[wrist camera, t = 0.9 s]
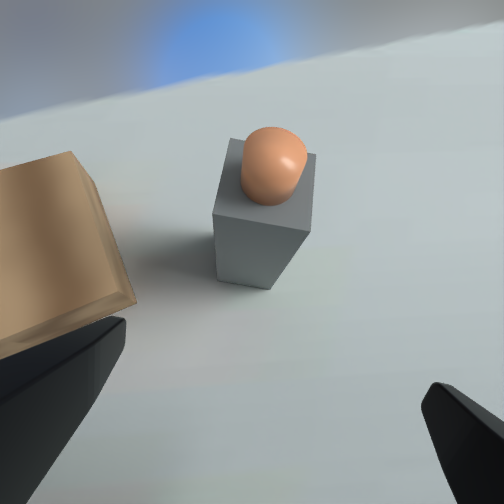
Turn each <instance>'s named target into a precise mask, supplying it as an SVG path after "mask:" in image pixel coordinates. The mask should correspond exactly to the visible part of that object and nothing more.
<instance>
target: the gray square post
mask: <svg viewBox="0 0 504 504" xmlns="http://www.w3.org/2000/svg"><path fill="white" fill-rule="evenodd" d="M315 162H316V154H311V153H307V150H306V147H305V145H304V144H303V142H302V141H301V140H300V138H299V137H297V136H296V135H295V134H293V133H292V132H290V131H288V130H285V129H282V128H277V127H266V128H261V129H258V130H256V131H254V132H253V133H251V134H250V135H249V136H248V138H247V139H246V141H243V140H238V139H233V138H230V141H229V145H228V149H227V154H226V158H225V162H224V166H223V171H222V175H221V179H220V183H219V188H218V192H217V196H216V200H215V205H214V209H213V213H212V216H213V229H214V242H215V255H216V268H217V281H223V282H229V283H235V284H241V285H247V286H252V287H258V288H264V289H271V288H272V286H273V285H274V283H275V282H276V280H277V279H278V277H279V276H280V275H281V273H282V272H283V270H284V269H285V267H286V266H287V265H288V263H289V262H290V260H291V259H292V257H293V256H294V254H295V253H296V252H297V250H298V249H299V247H300V246H301V244H302V243H303V242H304V240H305V239H306V237H307V236H308V234H309V233H310V231H311V217H312V204H313V190H314V176H315Z"/></svg>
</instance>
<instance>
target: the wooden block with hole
mask: <svg viewBox="0 0 504 504" xmlns="http://www.w3.org/2000/svg"><path fill="white" fill-rule="evenodd" d="M136 303H137V301H136V298H135V296H134V293H133V290H132V287H131V284H130V281H129V279H128V276H127V273H126V270H125V267H124V265H123V262H122V259H121V256H120V253H119V250H118V248H117V245H116V242H115V239H114V236H113V233H112V231H111V228H110V225H109V222H108V219H107V217H106V214H105V211H104V208H103V205H102V202H101V200H100V197H99V194H98V191H97V188H96V186H95V183H94V181H93V180H92V179H91V177H90V176H89V175H88V173H87V172H86V170H85V169H84V168H83V166H82V165H81V164H80V162H79V161H78V160H77V158H76V157H75V156H74V154H73V153H72V152H71V151H68V152H64V153H60V154H57V155H53V156H49V157H46V158H42V159H38V160H35V161H31V162H27V163H24V164H20V165H16V166H13V167H9V168H5V169H2V170H0V359H2V358H5V357H8V356H10V355H13V354H15V353H18V352H20V351H23V350H25V349H28V348H30V347H33V346H35V345H38V344H40V343H43V342H45V341H48V340H50V339H53V338H55V337H58V336H61V335H63V334H66V333H68V332H71V331H73V330H76V329H78V328H80V327H83V326H85V325H87V324H90V323H92V322H94V321H97V320H99V319H101V318H103V317H106V316H108V315H110V314H113V313H115V312H117V311H120V310H122V309H124V308H127V307H129V306H131V305H134V304H136Z"/></svg>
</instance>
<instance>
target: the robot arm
mask: <svg viewBox="0 0 504 504" xmlns="http://www.w3.org/2000/svg"><path fill="white" fill-rule="evenodd" d="M125 337H126V320H125V319H124V318H121V317H116V316H109V317H106V318H103V319H101V320H98V321H96V322H93V323H91V324H88V325H86V326H83V327H81V328H78V329H76V330H73V331H71V332H68V333H66V334H63V335H61V336H58V337H55V338H53V339H50V340H48V341H45V342H43V343H40V344H38V345H35V346H33V347H30V348H28V349H25V350H23V351H20V352H18V353H15V354H13V355H10V356H8V357H5V358H2V359H0V504H26V503H27V502H28V500H29V499H30V497H31V496H32V494H33V493H34V491H35V490H36V488H37V487H38V485H39V484H40V482H41V481H42V479H43V478H44V476H45V475H46V474H47V472H48V471H49V469H50V468H51V466H52V465H53V463H54V462H55V460H56V459H57V457H58V456H59V454H60V453H61V451H62V450H63V448H64V447H65V446H66V444H67V443H68V441H69V440H70V438H71V437H72V435H73V434H74V432H75V431H76V429H77V428H78V426H79V425H80V423H81V422H82V420H83V419H84V417H85V416H86V415H87V413H88V412H89V410H90V408H91V407H92V405H93V404H94V402H95V400H96V399H97V397H98V395H99V393H100V392H101V390H102V388H103V386H104V384H105V382H106V380H107V379H108V377H109V375H110V373H111V371H112V369H113V368H114V366H115V364H116V362H117V360H118V358H119V357H120V355H121V353H122V351H123V349H124V346H125ZM421 410H422V414H423V417H424V419H425V422H426V425H427V428H428V431H429V434H430V436H431V439H432V442H433V445H434V448H435V450H436V453H437V456H438V459H439V462H440V464H441V467H442V470H443V472H444V475H445V477H446V479H447V482H448V484H449V486H450V488H451V491H452V493H453V495H454V497H455V500H456V502H457V504H504V422H503V421H502V420H501V419H499V418H498V417H496V416H495V415H493V414H492V413H490V412H489V411H488V410H486V409H485V408H483V407H482V406H480V405H479V404H477V403H476V402H475V401H473V400H472V399H470V398H469V397H467V396H466V395H464V394H463V393H462V392H460V391H459V390H457V389H456V388H454V387H453V386H451V385H449V384H444V383H439V382H434V383H433V384H432V385H431V386H430V388H429V390H428V392H427V393H426V395H425V397H424V399H423V401H422V403H421Z"/></svg>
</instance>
